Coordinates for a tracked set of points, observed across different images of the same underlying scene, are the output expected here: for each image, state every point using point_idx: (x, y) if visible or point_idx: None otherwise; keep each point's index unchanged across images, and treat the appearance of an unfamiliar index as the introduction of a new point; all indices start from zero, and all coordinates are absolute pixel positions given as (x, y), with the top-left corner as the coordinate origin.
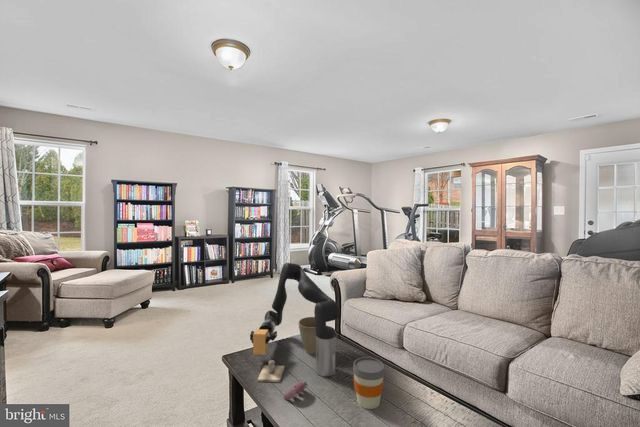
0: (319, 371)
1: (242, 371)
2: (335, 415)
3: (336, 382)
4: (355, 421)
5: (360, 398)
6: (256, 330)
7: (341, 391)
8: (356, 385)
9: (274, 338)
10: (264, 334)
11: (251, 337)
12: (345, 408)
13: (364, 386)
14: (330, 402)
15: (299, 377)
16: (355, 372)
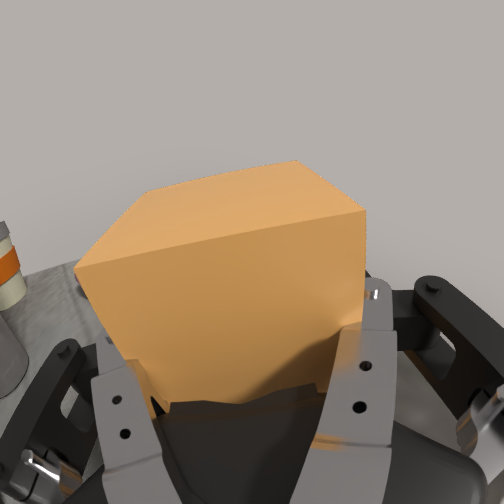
0: (19, 344)
1: None
2: (69, 267)
3: (14, 334)
4: (53, 267)
5: (21, 274)
6: (320, 193)
7: (25, 311)
8: (14, 253)
9: (72, 408)
10: (153, 192)
11: (408, 300)
12: (47, 280)
13: (12, 245)
14: (59, 285)
15: (79, 344)
16: (6, 230)
